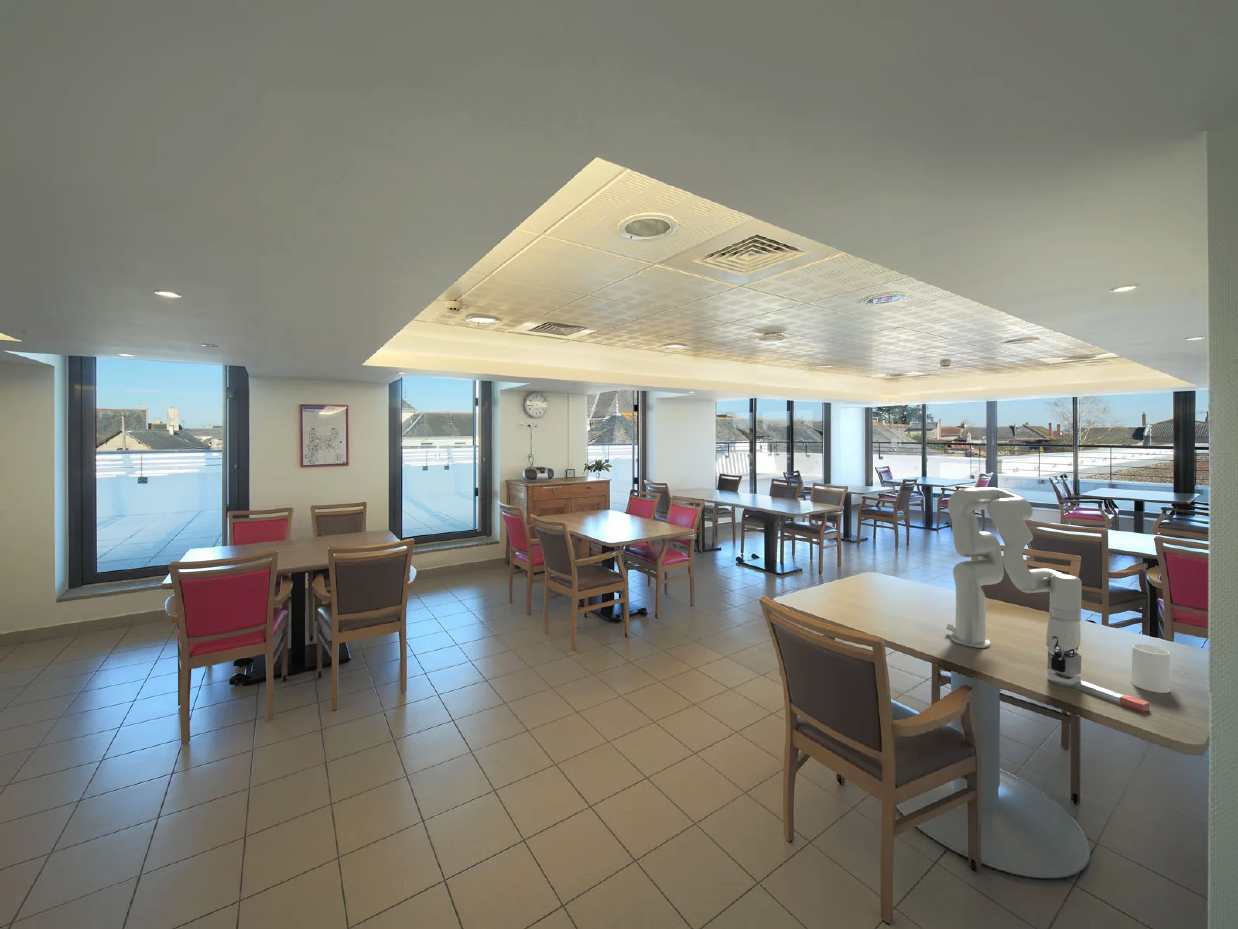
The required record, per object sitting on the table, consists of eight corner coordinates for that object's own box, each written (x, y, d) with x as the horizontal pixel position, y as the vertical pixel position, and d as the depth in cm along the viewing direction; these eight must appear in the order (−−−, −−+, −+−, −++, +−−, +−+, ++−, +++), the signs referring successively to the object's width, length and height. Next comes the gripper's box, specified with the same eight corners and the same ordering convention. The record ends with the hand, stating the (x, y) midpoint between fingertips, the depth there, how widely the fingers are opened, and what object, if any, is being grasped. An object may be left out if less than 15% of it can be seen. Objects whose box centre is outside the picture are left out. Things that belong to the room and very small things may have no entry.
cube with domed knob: (1047, 669, 162) (1047, 647, 161) (1058, 665, 164) (1058, 644, 164) (1069, 677, 156) (1070, 655, 156) (1080, 673, 159) (1081, 651, 158)
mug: (1154, 678, 162) (1155, 642, 161) (1187, 691, 153) (1188, 653, 153) (1122, 681, 160) (1123, 644, 160) (1153, 694, 152) (1154, 655, 151)
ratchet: (1041, 679, 162) (1042, 659, 162) (1056, 674, 166) (1056, 655, 165) (1138, 715, 141) (1139, 692, 140) (1153, 708, 144) (1153, 686, 144)
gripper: (1066, 606, 166) (1065, 659, 167) (1035, 614, 160) (1034, 669, 160) (1094, 613, 159) (1093, 668, 160) (1063, 621, 153) (1062, 679, 153)
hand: (1063, 668), depth 160 cm, fingers closed on cube with domed knob, 5 cm apart
